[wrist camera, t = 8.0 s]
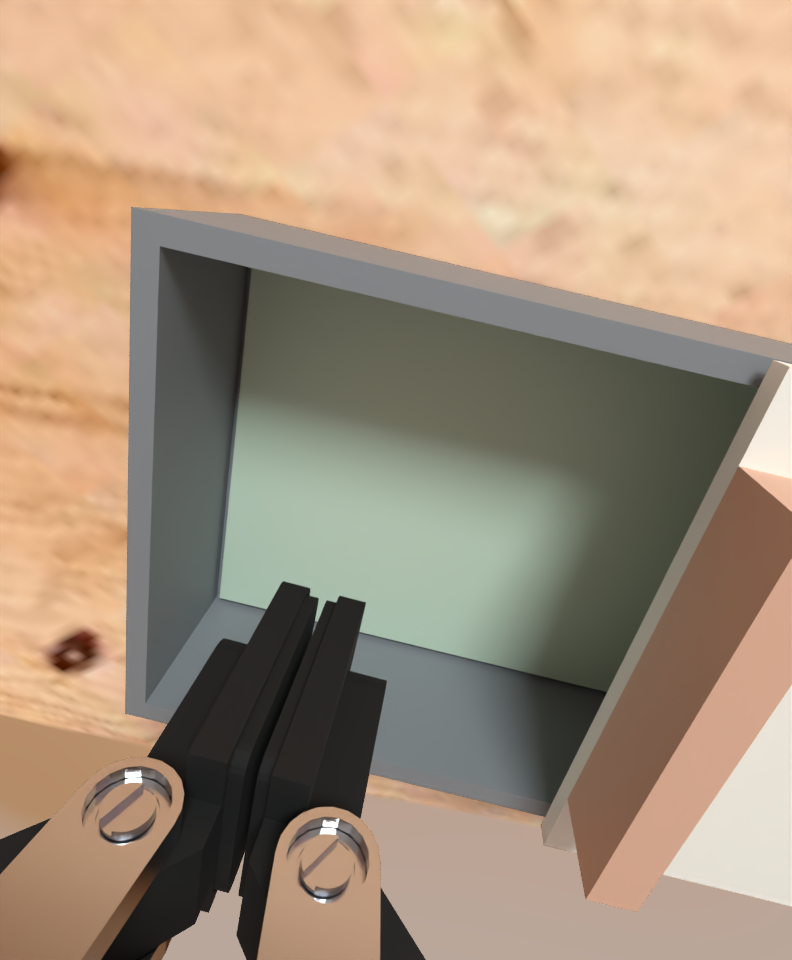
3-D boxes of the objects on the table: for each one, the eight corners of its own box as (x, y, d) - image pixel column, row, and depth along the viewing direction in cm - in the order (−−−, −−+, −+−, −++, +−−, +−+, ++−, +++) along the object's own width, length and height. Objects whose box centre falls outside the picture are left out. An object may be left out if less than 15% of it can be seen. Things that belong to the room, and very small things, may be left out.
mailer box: (909, 371, 16) (1132, 443, 11) (700, 715, 22) (778, 874, 17) (240, 214, 17) (131, 206, 11) (207, 595, 22) (125, 713, 17)
